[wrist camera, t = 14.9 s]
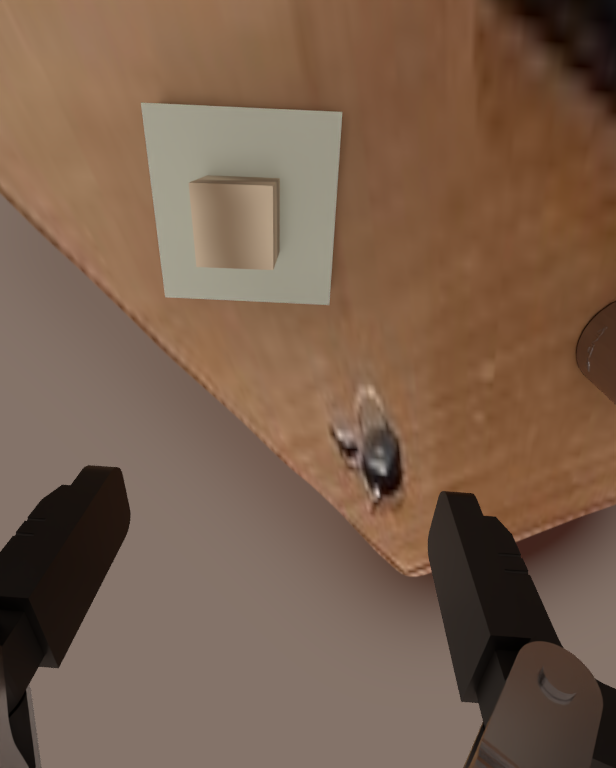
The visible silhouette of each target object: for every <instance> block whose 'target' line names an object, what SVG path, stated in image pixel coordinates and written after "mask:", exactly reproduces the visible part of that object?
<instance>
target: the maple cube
mask: <svg viewBox="0 0 616 768" xmlns="http://www.w3.org/2000/svg"><path fill="white" fill-rule="evenodd" d="M189 193H190V204H191V215H192V226H193V236H194V247H195V258H196V267H209V268H233V269H258V270H274V267H275V264H276V261H277V258H278V255H279V252H280V178H262V177H237V176H211V175H207V176H204V177H202V178H199V179H197V180H194V181H191V182H189Z"/></svg>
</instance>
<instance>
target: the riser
mask: <svg viewBox="0 0 616 768" xmlns="http://www.w3.org/2000/svg"><path fill="white" fill-rule="evenodd" d="M141 108H142V116H143V124H144V131H145V139H146V147H147V155H148V163H149V171H150V179H151V187H152V195H153V203H154V211H155V219H156V227H157V235H158V243H159V251H160V259H161V267H162V275H163V283H164V291H165V297H173V298H194V299H215V300H236V301H257V302H278V303H298V304H319V305H329V302H330V287H331V272H332V258H333V243H334V228H335V213H336V199H337V184H338V169H339V154H340V139H341V125H342V112H331V111H310V110H288V109H267V108H246V107H224V106H203V105H181V104H160V103H141ZM207 175H211V176H237V177H262V178H280V252H279V255H278V258H277V261H276V264H275V267H274V270H258V269H233V268H209V267H196V258H195V247H194V236H193V226H192V215H191V204H190V193H189V182H191V181H194V180H197V179H199V178H202V177H204V176H207Z"/></svg>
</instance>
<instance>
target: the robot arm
mask: <svg viewBox="0 0 616 768" xmlns="http://www.w3.org/2000/svg"><path fill="white" fill-rule="evenodd" d="M577 362H578V366H579V368H580V370H581V371H582V373H583V374H584V375H585V376H586V377H587V378H588V379H589V380H590V381H591V382H592V383H593V384H594V385H595V386H596V387H597V388H598V389H600V390H601V391H602V392H603V393H604V394H605V395H606V396H607V397H608V398H609V399H610V400H611V401H612V402H613V403H614V404H615V405H616V302H614V303H612V304H611V305H609V306H608V307H606V308H605V309H603V310H602V311H601V312H600V313H598V314H597V315H596V316H595V317H594V318H593V319H592V320H591V322H590V323H589V324H588V326H587V327H586V328H585V330H584V331H583V333H582V335H581V337H580V339H579V343H578V347H577ZM129 524H130V507H129V503H128V498H127V493H126V488H125V484H124V479H123V475H122V471H121V469H120V468H118V467H104V466H90V465H88V466H86V467H84V468H83V469H82V471H81V472H80V473H79V475H78V476H77V478H76V479H75V480H74V481H73V483H72V484H71V485H61V486H60V487H58V488H57V489H56V490H54V491H53V492H51V493H50V494H49V495H47V496H46V497H44V498H43V499H42V500H41V501H40V502H39V504H38V505H37V506H36V508H35V509H34V510H33V511H32V512H31V514H30V515H29V516H28V520H27V521H24V523H23V524H22V525H21V526H20V528H19V529H18V530H17V531H16V535H15V536H12V538H11V539H10V540H9V542H8V543H7V544H6V545H5V547H4V548H3V549H2V551H1V552H0V768H42V767H41V760H40V753H39V745H38V738H37V730H36V723H35V716H34V708H33V701H32V694H31V688H30V685H29V683H30V681H31V679H32V678H33V676H34V674H35V672H36V671H37V669H38V667H51V668H59V666H60V664H61V662H62V660H63V659H64V657H65V655H66V653H67V651H68V648H69V647H70V645H71V643H72V641H73V639H74V637H75V635H76V633H77V631H78V629H79V627H80V625H81V623H82V621H83V619H84V617H85V615H86V613H87V611H88V609H89V607H90V606H91V604H92V602H93V600H94V598H95V596H96V594H97V592H98V590H99V588H100V586H101V584H102V582H103V580H104V578H105V576H106V574H107V572H108V570H109V568H110V566H111V564H112V562H113V560H114V558H115V557H116V555H117V552H118V551H119V549H120V547H121V545H122V543H123V541H124V539H125V537H126V535H127V532H128V529H129ZM428 556H429V561H430V566H431V570H432V575H433V579H434V583H435V588H436V592H437V597H438V601H439V606H440V610H441V614H442V619H443V623H444V628H445V632H446V636H447V641H448V645H449V650H450V654H451V658H452V663H453V667H454V672H455V676H456V681H457V685H458V690H459V694H460V698H461V701H462V702H472V703H473V702H474V703H479V706H480V710H481V714H482V718H483V723H482V725H481V727H480V729H479V732H478V734H477V736H476V739H475V741H474V743H473V746H472V748H471V750H470V753H469V755H468V758H467V760H466V762H465V764H464V767H463V768H616V689H615V688H612V687H610V686H608V685H605V684H603V683H601V682H600V681H598V680H596V679H595V678H594V676H593V675H592V673H591V672H590V671H589V669H588V668H587V667H586V666H585V665H584V664H583V663H582V662H581V661H580V660H579V659H578V658H577V657H576V656H575V655H573V654H572V653H570V652H569V651H567V650H566V649H564V648H563V646H562V645H561V643H560V641H559V639H558V637H557V635H556V632H555V630H554V628H553V626H552V623H551V621H550V619H549V617H548V614H547V612H546V610H545V608H544V605H543V603H542V601H541V599H540V596H539V594H538V592H537V590H536V587H535V585H534V583H533V581H532V578H531V576H530V575H528V570H527V567H526V565H525V563H524V561H523V559H522V558H521V554H520V552H519V549H518V547H517V545H516V543H515V540H514V538H513V536H512V534H511V533H510V532H509V531H508V530H507V529H506V527H505V526H504V525H503V524H502V523H501V522H500V521H499V520H498V519H497V518H496V517H492V516H483V514H482V511H481V509H480V506H479V503H478V501H477V499H476V497H475V495H474V494H472V493H461V492H447V491H442V492H441V493H440V495H439V497H438V501H437V505H436V509H435V512H434V516H433V520H432V524H431V527H430V531H429V536H428Z"/></svg>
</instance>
